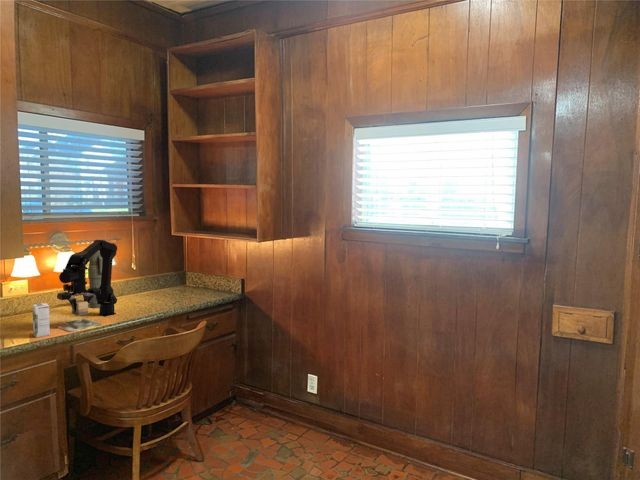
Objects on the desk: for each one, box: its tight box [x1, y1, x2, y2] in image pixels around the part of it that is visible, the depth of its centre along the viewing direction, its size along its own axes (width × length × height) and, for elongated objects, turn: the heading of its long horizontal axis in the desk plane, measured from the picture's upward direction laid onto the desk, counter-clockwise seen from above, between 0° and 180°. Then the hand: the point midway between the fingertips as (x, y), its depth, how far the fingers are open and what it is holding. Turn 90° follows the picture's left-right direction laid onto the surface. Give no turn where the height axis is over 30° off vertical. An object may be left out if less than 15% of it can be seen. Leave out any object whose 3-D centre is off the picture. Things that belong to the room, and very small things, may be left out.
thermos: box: [87, 251, 103, 309], centre depth 254 cm, size 9×12×35 cm
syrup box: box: [32, 302, 51, 338], centre depth 200 cm, size 6×6×14 cm
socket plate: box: [57, 318, 103, 333], centre depth 215 cm, size 16×12×2 cm
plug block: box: [71, 299, 89, 317], centre depth 215 cm, size 7×4×6 cm, turn 55°
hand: (79, 310), depth 215 cm, fingers closed on plug block, 4 cm apart
